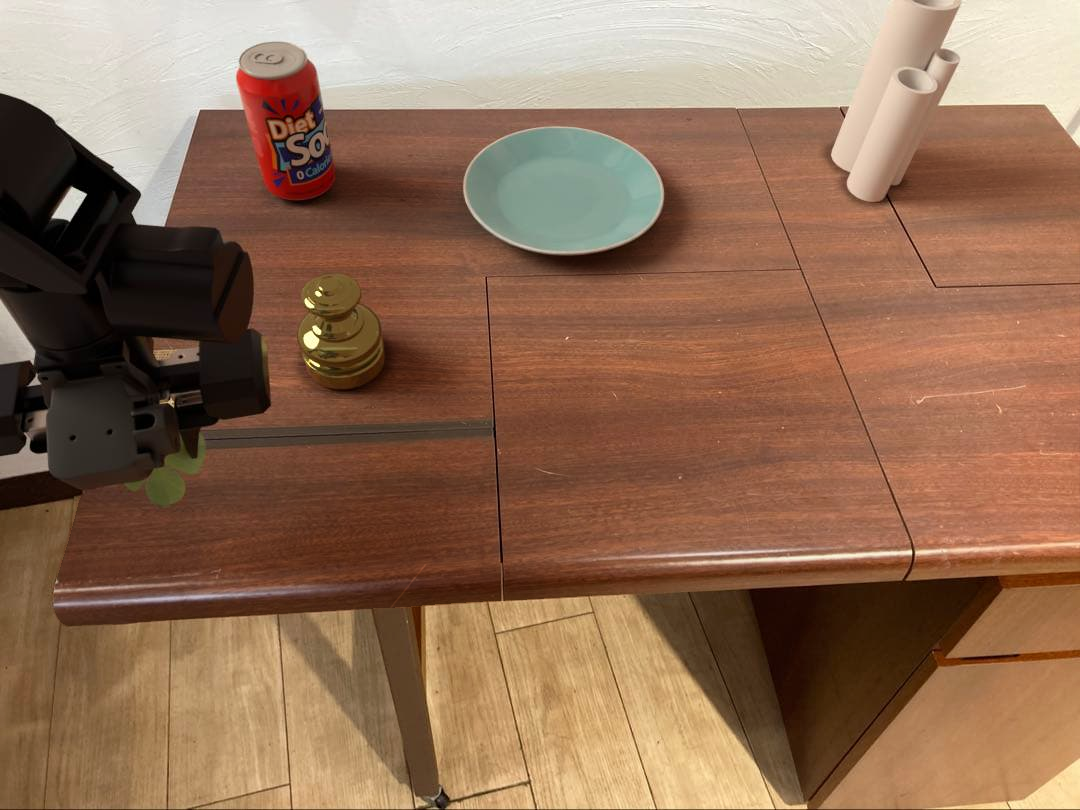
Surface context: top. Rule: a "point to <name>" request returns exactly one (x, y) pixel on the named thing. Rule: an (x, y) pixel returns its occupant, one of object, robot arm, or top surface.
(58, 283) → the robot arm
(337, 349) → the brass weight
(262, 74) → the soda can
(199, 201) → the top surface
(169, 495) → the green clover leaf
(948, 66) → the vase
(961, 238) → the top surface
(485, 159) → the plate
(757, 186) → the top surface
